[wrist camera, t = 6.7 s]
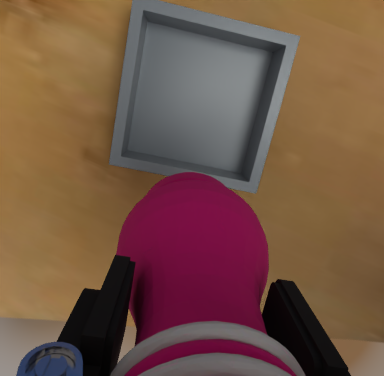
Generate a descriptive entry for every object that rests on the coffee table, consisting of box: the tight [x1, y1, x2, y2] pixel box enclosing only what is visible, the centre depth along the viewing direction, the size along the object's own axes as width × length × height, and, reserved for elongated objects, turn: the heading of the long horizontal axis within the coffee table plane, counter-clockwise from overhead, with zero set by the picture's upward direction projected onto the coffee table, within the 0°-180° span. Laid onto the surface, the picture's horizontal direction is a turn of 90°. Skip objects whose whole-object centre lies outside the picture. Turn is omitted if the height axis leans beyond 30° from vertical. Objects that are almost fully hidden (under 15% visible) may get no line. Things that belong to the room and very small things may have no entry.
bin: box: [109, 0, 300, 193], centre depth 31 cm, size 15×15×5 cm
